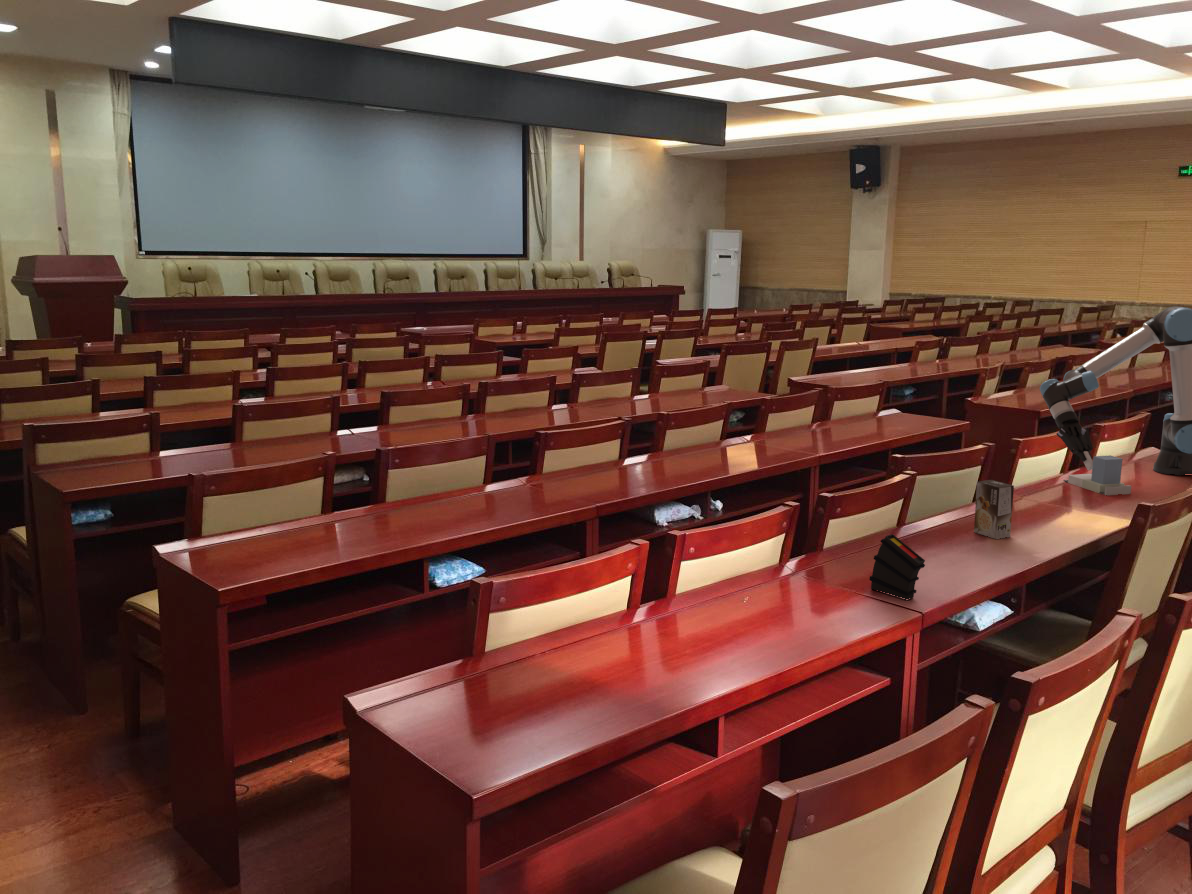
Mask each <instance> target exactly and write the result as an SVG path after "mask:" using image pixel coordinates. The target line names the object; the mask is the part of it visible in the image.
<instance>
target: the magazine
mask: <svg viewBox="0 0 1192 894" xmlns="http://www.w3.org/2000/svg"><path fill="white" fill-rule="evenodd" d="M880 543H881V544H880V547H879V548H878V551H877V554H875V555H873V560H874V564H873V567H872V575H870V576H869V580H868V581H871V585H870V590H871V589H874V590H878V591H882V592H885V593H889V594H892V595H895V596H898V597H902V598H905V599H909V598H912V597H914V596H915V594H916V593H917V589H915V587H916V582H917V581H919V579H920V577H919V576H918V574H919V572H920V570H921V569H923V568H925V566H926V564H925V562H926V560H925V559H924V557H921V556H920V555H919V554H918V553H917V552H915V550H913V549H912V548H910V547H909V546H908V545H907V544H906V543H905V542H903V541H902V540H901V539H900V538H898V537H897V536H896V535H894V534H888V535H886V536H885V538H882V539H881V540H880ZM874 590H873V591H874ZM914 598H915V597H914Z"/></svg>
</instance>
